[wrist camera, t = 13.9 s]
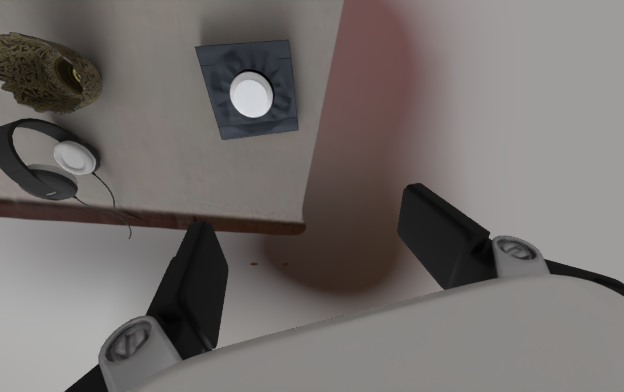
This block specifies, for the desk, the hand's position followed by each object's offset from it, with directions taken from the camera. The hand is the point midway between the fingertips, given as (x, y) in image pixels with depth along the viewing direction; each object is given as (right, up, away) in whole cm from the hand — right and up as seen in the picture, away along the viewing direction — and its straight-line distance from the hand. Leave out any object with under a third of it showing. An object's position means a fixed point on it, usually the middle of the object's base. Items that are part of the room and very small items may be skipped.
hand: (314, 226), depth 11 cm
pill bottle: (-9, +18, +24) cm, 31 cm away
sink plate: (-9, +18, +23) cm, 31 cm away
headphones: (-34, +5, +25) cm, 42 cm away
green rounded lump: (-30, +18, +19) cm, 40 cm away
